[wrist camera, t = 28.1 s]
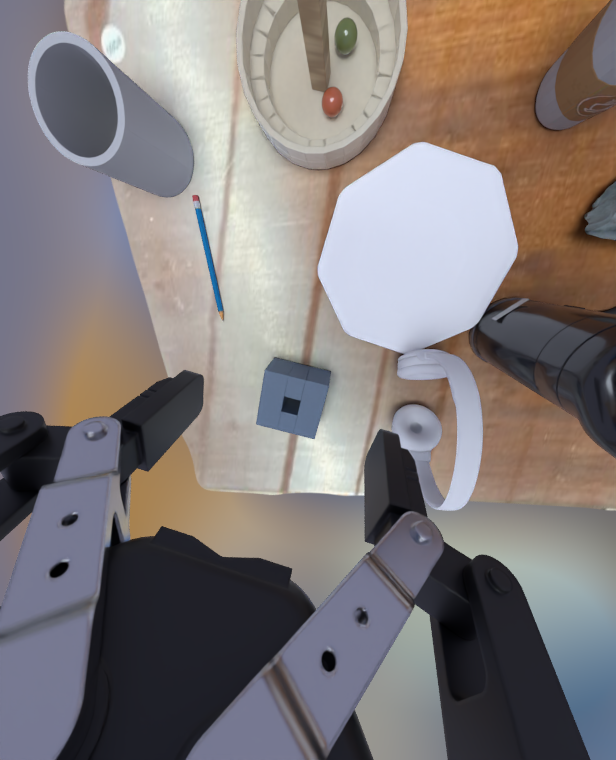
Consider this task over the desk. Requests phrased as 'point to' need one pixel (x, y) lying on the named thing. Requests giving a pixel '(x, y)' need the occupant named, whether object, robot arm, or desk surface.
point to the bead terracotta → (332, 102)
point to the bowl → (293, 85)
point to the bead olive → (345, 36)
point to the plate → (418, 248)
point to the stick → (316, 41)
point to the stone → (603, 215)
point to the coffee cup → (581, 76)
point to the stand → (293, 397)
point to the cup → (106, 117)
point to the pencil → (208, 254)
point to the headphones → (425, 429)
